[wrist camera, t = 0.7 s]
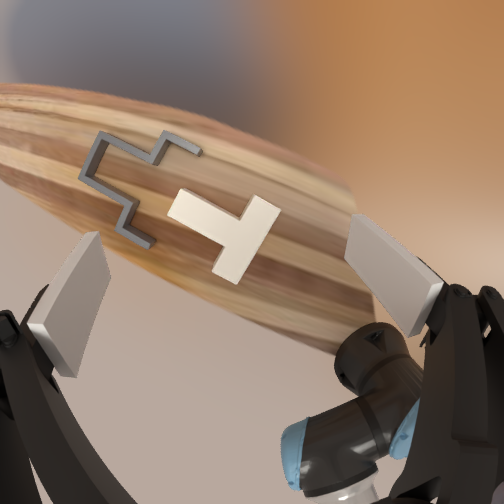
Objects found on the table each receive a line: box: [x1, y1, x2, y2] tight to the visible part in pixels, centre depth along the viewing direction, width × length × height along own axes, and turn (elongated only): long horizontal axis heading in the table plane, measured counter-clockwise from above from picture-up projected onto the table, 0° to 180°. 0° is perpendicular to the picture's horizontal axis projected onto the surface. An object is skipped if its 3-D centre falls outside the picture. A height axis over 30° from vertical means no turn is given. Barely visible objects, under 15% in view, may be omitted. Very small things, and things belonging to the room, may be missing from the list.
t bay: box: [78, 130, 203, 250], centre depth 36 cm, size 16×16×3 cm
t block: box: [167, 188, 281, 285], centre depth 38 cm, size 13×12×4 cm
